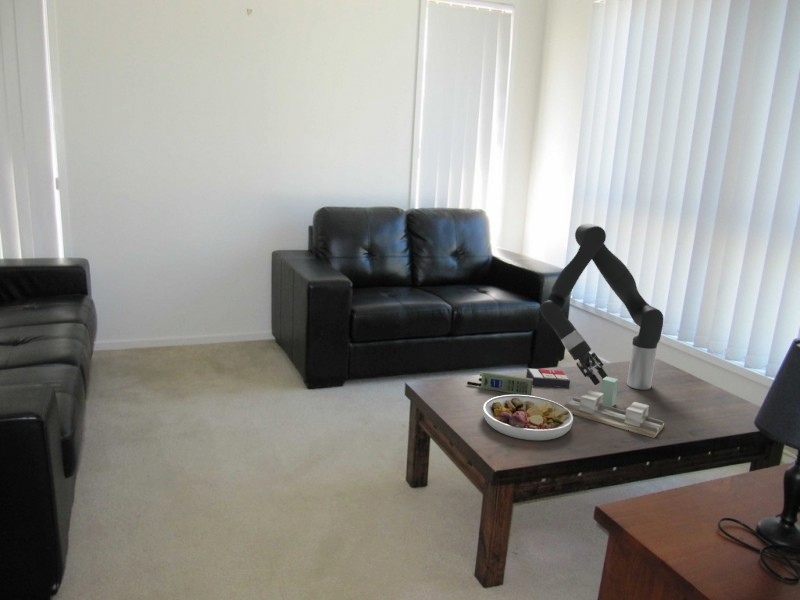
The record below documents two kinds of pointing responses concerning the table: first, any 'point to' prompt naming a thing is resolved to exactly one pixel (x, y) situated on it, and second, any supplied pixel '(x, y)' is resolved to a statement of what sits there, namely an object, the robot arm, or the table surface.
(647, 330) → the robot arm
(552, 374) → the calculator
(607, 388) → the sage module
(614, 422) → the rail board
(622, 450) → the table surface
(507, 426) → the bowl
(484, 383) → the handheld radio
